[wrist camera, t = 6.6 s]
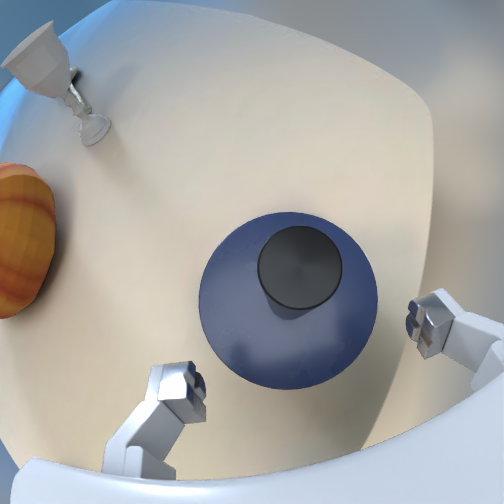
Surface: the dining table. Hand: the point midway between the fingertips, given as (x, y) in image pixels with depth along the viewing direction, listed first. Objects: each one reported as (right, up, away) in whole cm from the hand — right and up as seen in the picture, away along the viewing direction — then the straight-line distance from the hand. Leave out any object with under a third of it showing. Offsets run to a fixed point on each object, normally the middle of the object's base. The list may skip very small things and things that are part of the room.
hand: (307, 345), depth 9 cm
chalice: (-23, +20, +22) cm, 38 cm away
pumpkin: (-32, +3, +18) cm, 37 cm away
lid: (0, 0, +8) cm, 8 cm away
